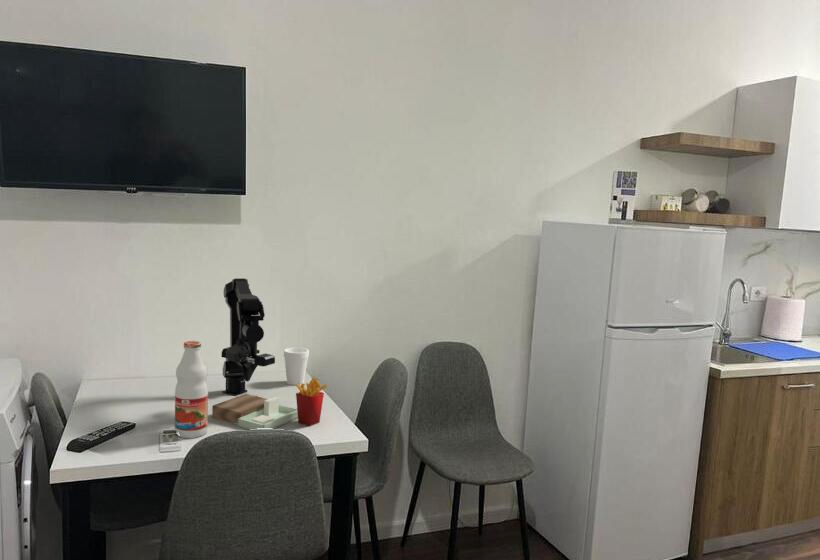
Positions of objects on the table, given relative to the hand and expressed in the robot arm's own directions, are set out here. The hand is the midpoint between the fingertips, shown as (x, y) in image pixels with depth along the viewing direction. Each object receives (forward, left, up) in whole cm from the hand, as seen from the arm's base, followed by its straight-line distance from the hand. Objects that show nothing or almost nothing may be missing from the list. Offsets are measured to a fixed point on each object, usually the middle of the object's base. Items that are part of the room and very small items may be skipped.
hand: (247, 381), depth 221 cm
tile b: (+14, -8, -8) cm, 18 cm away
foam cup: (-8, +37, -11) cm, 39 cm away
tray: (+13, -3, -11) cm, 17 cm away
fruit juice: (0, -25, -11) cm, 27 cm away
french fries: (+24, +4, -11) cm, 27 cm away
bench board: (+1, -3, -11) cm, 11 cm away
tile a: (+8, +1, -7) cm, 11 cm away
